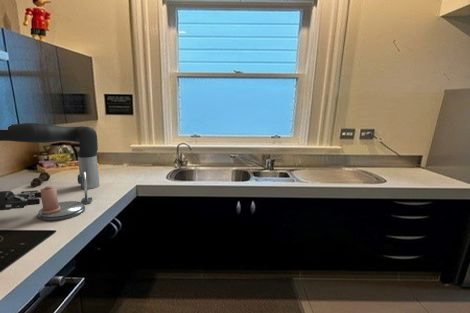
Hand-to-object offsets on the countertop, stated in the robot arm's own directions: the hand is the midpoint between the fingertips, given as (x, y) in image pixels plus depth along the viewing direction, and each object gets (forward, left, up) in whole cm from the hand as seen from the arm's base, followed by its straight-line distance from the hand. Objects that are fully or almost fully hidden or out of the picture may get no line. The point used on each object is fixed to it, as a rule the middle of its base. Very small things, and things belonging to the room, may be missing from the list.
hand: (43, 197), depth 112 cm
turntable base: (-3, +5, -8) cm, 10 cm away
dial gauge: (-14, +12, -8) cm, 20 cm away
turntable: (-3, +5, -7) cm, 9 cm away
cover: (0, +2, -6) cm, 6 cm away
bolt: (-52, -21, -9) cm, 57 cm away
